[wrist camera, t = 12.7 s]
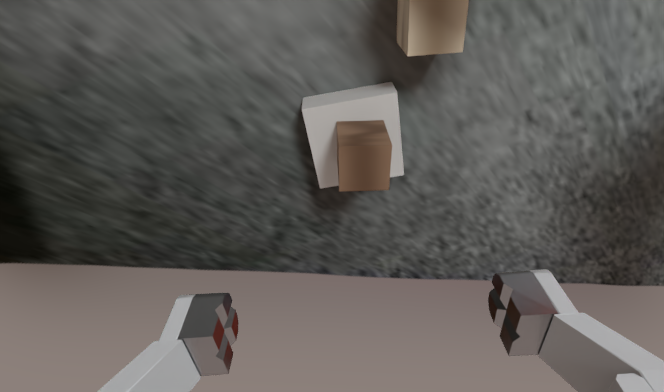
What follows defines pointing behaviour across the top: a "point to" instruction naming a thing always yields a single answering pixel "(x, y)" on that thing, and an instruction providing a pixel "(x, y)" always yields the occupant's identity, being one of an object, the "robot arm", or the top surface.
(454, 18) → the beech block
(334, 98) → the stone slab
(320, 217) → the top surface
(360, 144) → the walnut block
